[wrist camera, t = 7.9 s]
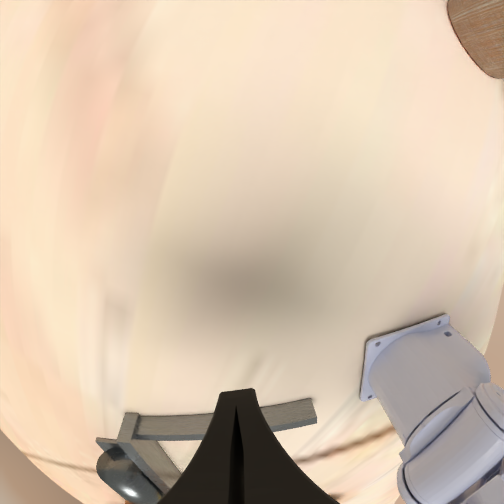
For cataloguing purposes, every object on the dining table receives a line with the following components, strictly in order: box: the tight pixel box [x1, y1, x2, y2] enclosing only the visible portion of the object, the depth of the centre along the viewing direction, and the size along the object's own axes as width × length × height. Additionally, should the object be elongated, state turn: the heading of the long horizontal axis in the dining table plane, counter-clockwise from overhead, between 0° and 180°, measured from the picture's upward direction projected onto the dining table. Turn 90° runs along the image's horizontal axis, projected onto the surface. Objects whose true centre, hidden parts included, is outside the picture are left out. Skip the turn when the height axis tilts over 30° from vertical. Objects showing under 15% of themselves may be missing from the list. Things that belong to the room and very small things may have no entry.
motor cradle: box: [96, 398, 317, 504], centre depth 24 cm, size 26×25×6 cm
